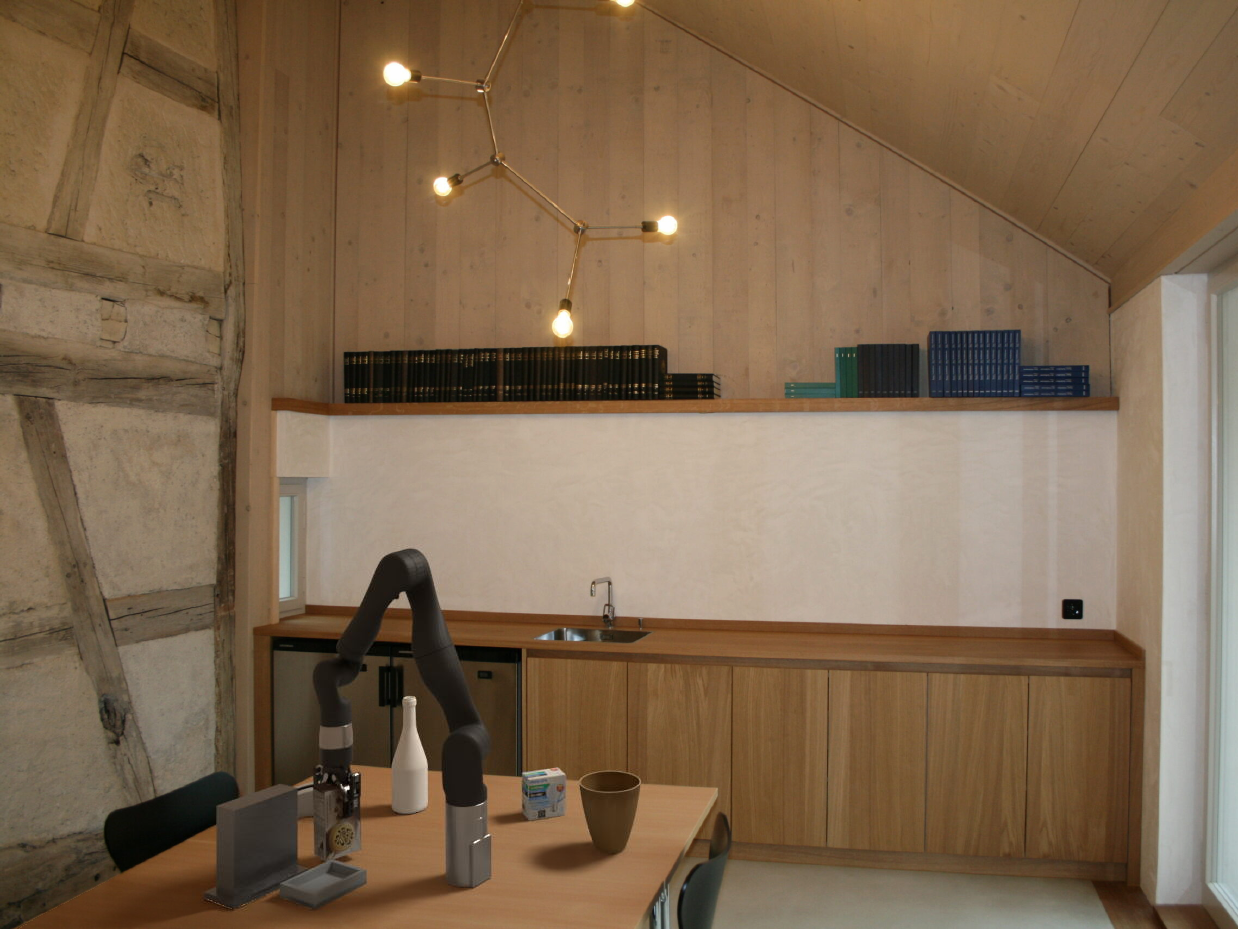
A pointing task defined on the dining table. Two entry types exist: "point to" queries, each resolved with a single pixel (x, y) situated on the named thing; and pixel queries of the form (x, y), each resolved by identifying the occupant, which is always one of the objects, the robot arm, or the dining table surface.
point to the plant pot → (610, 807)
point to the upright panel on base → (256, 845)
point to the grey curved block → (305, 799)
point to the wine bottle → (409, 766)
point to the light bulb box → (543, 793)
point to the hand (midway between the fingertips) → (337, 813)
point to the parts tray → (323, 884)
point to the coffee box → (334, 823)
